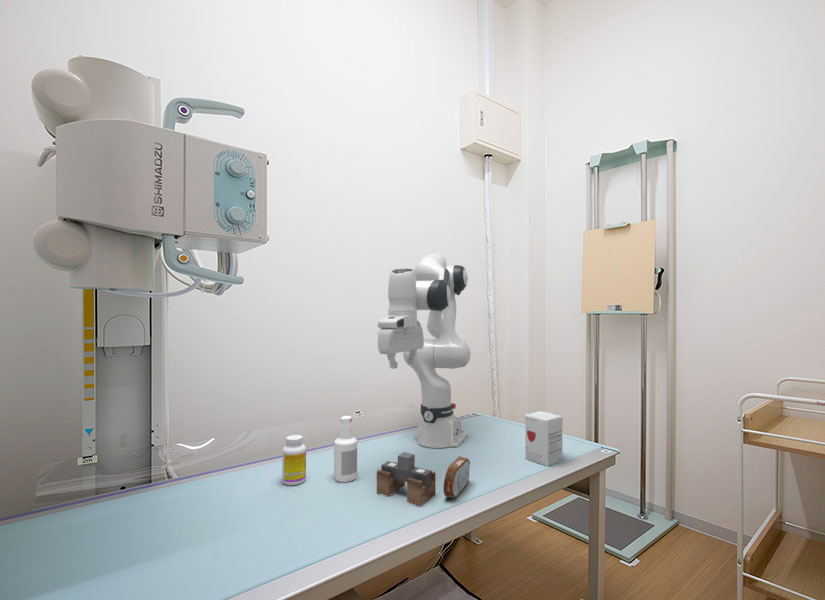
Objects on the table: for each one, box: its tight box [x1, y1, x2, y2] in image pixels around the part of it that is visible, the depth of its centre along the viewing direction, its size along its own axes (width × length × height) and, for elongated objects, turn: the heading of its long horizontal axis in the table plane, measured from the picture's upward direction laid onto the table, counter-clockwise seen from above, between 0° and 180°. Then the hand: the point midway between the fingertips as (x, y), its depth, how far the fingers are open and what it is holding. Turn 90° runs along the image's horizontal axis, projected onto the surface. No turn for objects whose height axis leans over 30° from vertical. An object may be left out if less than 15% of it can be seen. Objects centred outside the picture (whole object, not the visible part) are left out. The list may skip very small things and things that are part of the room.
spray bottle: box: [333, 415, 358, 483], centre depth 123 cm, size 7×7×18 cm
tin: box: [443, 456, 471, 499], centre depth 114 cm, size 15×3×8 cm, turn 154°
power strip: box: [380, 451, 433, 487], centre depth 112 cm, size 4×14×6 cm, turn 61°
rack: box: [376, 461, 437, 507], centre depth 112 cm, size 8×14×6 cm, turn 57°
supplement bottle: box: [281, 434, 307, 486], centre depth 120 cm, size 7×7×13 cm
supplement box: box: [524, 410, 563, 467], centre depth 137 cm, size 9×9×15 cm
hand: (402, 366), depth 125 cm, fingers open, 8 cm apart
